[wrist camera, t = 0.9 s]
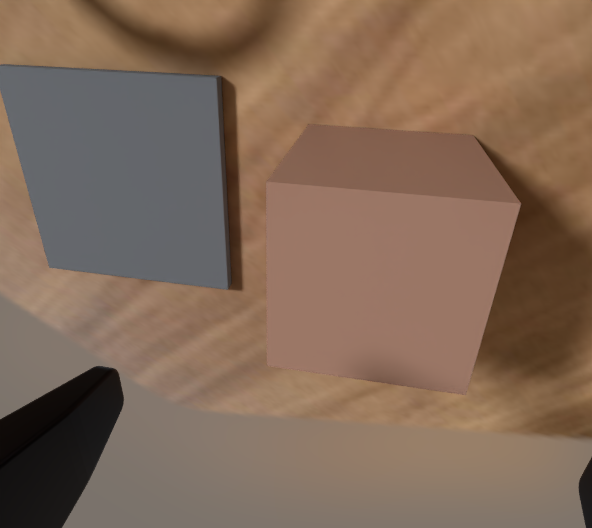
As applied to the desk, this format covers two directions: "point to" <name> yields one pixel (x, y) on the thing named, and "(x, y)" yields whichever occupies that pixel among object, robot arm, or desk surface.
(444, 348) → the dusty pink block
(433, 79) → the desk surface
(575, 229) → the desk surface
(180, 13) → the desk surface
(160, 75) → the slate mat
